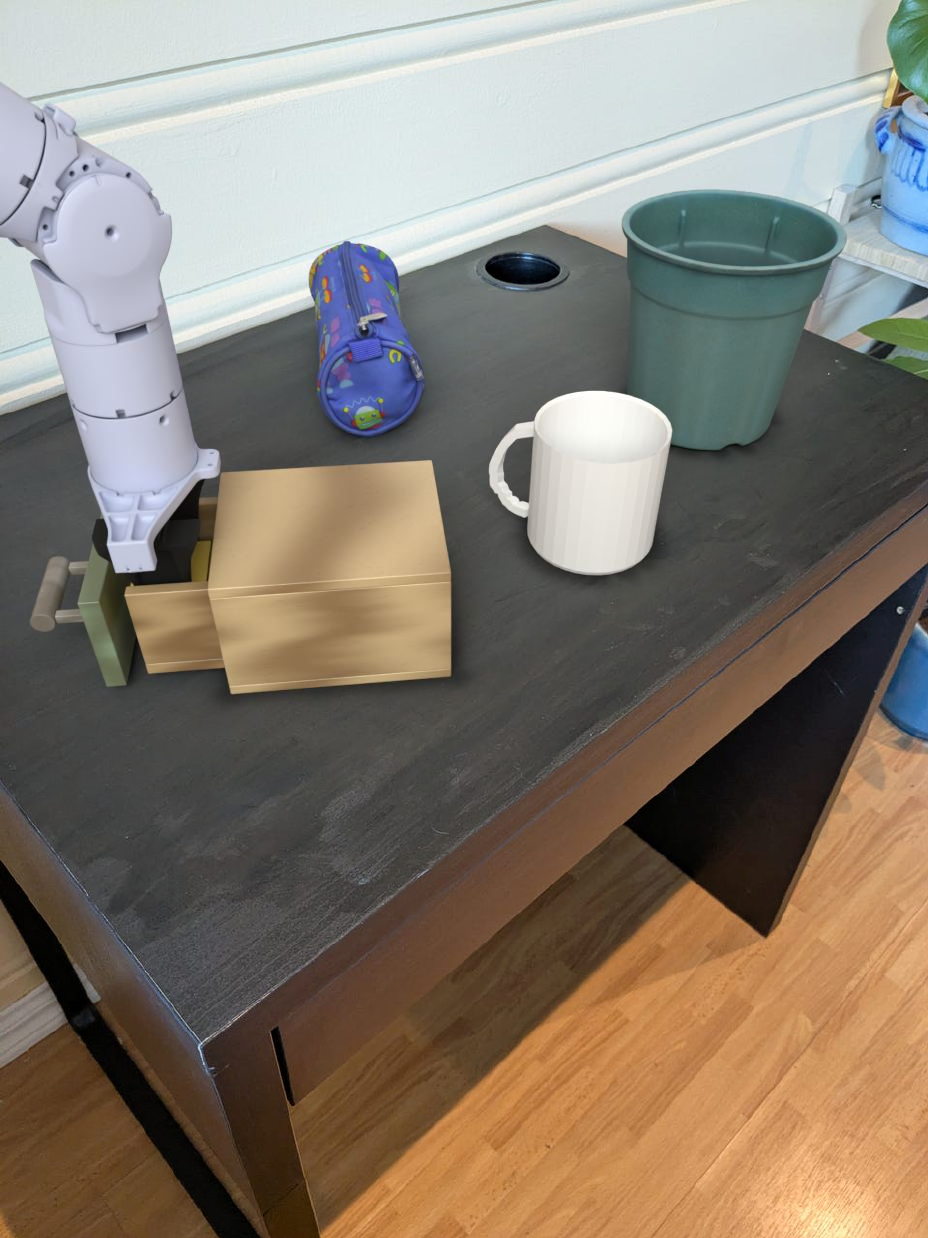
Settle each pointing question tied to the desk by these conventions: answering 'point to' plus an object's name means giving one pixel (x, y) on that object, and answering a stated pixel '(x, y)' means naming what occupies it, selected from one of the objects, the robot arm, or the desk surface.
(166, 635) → the drawer
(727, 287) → the flower pot
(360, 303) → the pencil case
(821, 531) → the desk surface
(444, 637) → the cabinet
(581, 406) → the mug
